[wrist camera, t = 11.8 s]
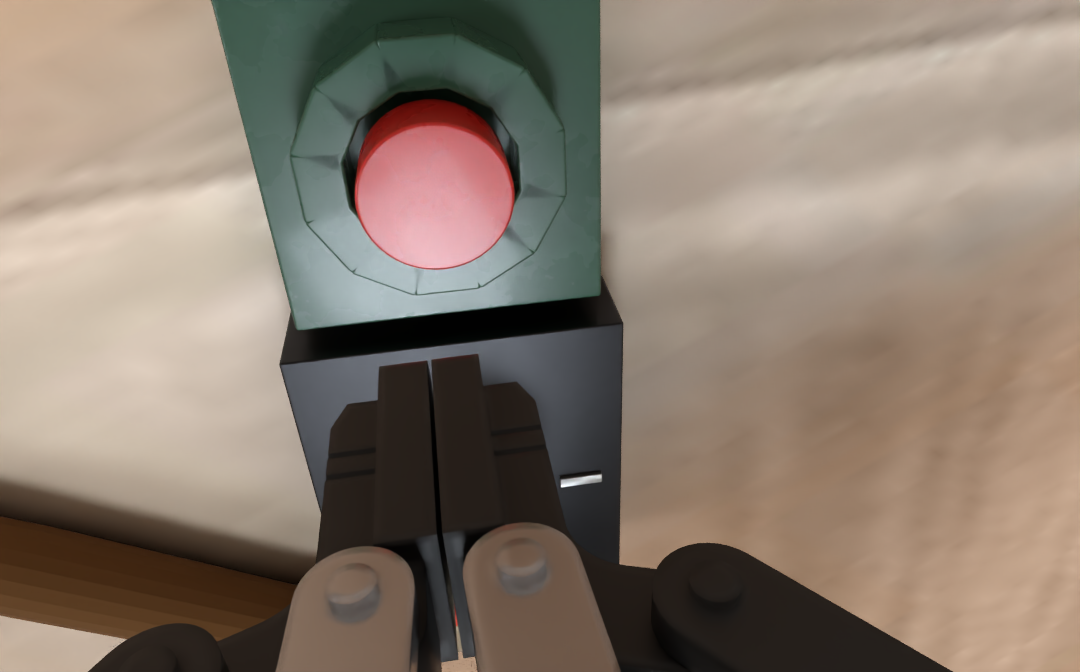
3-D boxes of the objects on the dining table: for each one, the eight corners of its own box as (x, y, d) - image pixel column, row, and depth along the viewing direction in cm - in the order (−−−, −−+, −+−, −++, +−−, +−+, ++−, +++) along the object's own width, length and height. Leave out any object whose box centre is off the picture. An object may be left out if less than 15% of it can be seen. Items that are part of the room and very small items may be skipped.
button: (511, 230, 20) (519, 262, 19) (370, 245, 20) (368, 278, 19) (501, 91, 18) (509, 114, 17) (344, 105, 18) (340, 130, 17)
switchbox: (587, 262, 26) (614, 328, 22) (303, 294, 25) (288, 367, 21) (582, -87, 20) (618, -67, 17) (216, -62, 19) (178, -37, 16)
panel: (602, 529, 33) (620, 591, 30) (356, 565, 32) (352, 632, 29) (602, 274, 26) (624, 325, 23) (290, 309, 25) (278, 367, 22)
